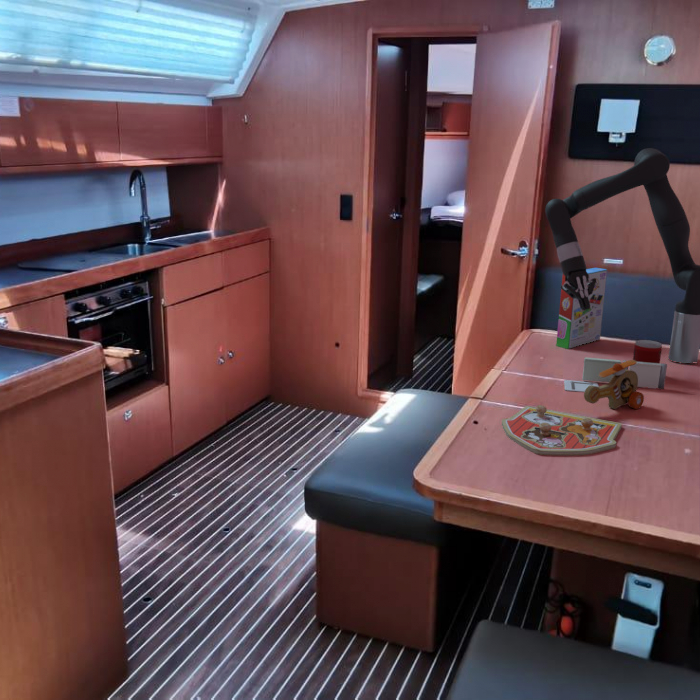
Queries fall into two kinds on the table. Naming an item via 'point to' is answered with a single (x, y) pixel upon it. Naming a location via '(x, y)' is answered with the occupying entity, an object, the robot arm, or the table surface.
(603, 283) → the game box
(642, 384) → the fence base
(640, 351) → the canned food
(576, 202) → the robot arm
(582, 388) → the card
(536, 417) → the knob puzzle
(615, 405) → the toy helicopter
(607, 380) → the swing panel
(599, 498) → the table surface
